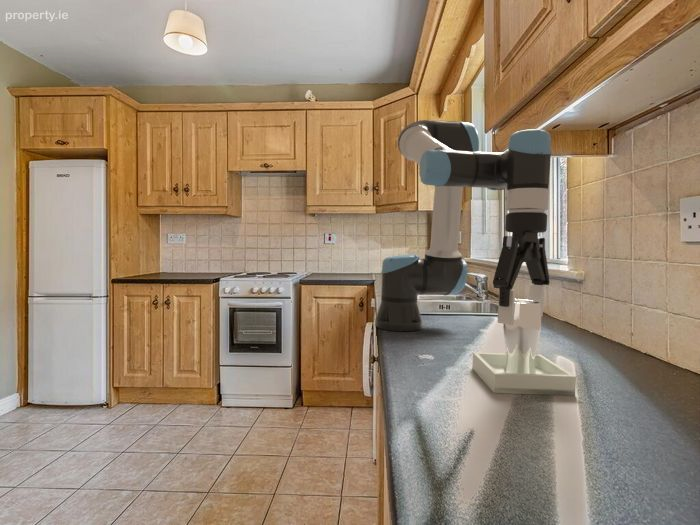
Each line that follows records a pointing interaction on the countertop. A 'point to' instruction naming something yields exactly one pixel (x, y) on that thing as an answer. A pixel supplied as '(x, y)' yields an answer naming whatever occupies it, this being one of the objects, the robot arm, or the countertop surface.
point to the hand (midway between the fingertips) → (521, 319)
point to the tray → (523, 376)
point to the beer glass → (522, 337)
